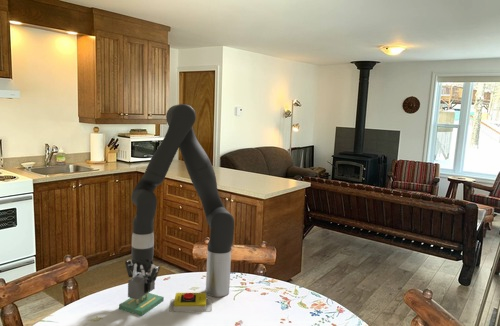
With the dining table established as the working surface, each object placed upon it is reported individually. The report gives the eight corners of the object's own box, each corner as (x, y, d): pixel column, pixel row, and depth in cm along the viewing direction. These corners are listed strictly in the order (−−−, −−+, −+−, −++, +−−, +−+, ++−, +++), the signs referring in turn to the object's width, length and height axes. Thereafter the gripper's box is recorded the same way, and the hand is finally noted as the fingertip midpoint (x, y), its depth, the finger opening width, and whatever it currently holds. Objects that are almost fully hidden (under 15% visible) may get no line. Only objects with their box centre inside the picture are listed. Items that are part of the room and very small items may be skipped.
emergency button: (171, 289, 139) (212, 289, 140) (171, 300, 139) (211, 300, 141) (169, 301, 129) (212, 301, 131) (168, 313, 130) (212, 313, 132)
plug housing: (145, 286, 139) (146, 270, 138) (154, 288, 137) (155, 273, 136) (127, 297, 130) (128, 280, 129) (137, 299, 128) (137, 283, 128)
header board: (141, 294, 141) (141, 282, 141) (163, 300, 138) (163, 287, 137) (119, 308, 130) (119, 295, 130) (142, 315, 127) (142, 301, 126)
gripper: (165, 245, 132) (164, 291, 134) (133, 237, 138) (132, 282, 140) (152, 251, 125) (151, 299, 127) (119, 243, 131) (118, 290, 133)
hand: (141, 290), depth 133 cm, fingers closed on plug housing, 4 cm apart
